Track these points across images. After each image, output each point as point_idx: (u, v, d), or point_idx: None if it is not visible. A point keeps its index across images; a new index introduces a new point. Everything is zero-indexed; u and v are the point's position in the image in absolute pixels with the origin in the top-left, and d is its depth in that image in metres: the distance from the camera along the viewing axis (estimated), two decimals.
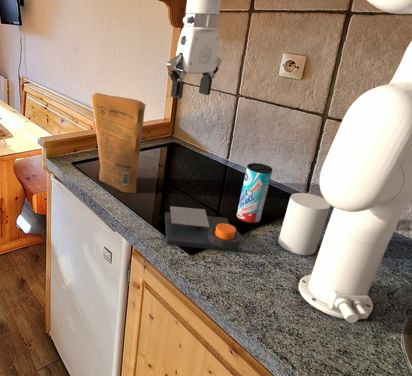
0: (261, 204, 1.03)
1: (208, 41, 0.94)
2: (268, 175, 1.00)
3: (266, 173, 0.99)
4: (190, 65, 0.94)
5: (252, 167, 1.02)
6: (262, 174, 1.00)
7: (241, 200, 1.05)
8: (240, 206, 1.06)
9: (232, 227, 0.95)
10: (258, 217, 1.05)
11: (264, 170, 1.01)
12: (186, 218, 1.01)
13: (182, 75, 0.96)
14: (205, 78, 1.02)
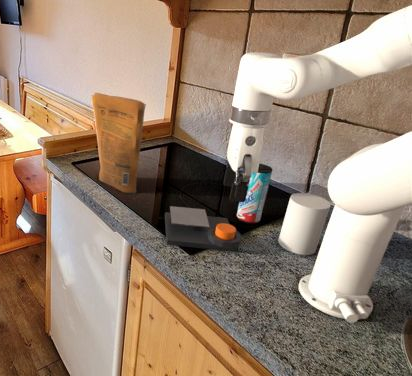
0: (261, 204, 1.03)
1: None
2: (268, 175, 1.00)
3: (266, 173, 0.99)
4: (258, 165, 0.83)
5: None
6: (262, 174, 1.00)
7: None
8: (240, 206, 1.06)
9: (232, 227, 0.95)
10: (258, 217, 1.05)
11: (264, 170, 1.01)
12: (186, 218, 1.01)
13: None
14: (232, 170, 0.92)
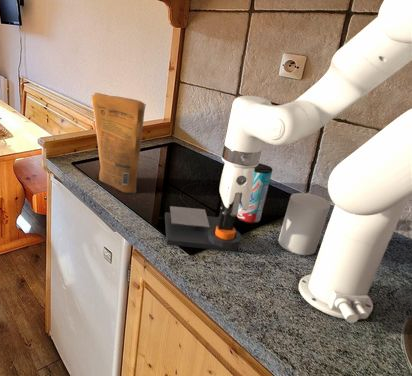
0: (261, 204, 1.03)
1: None
2: (268, 175, 1.00)
3: (266, 173, 0.99)
4: (248, 202, 0.87)
5: None
6: (262, 174, 1.00)
7: None
8: (240, 206, 1.06)
9: None
10: (258, 217, 1.05)
11: (264, 170, 1.01)
12: (186, 218, 1.01)
13: None
14: None
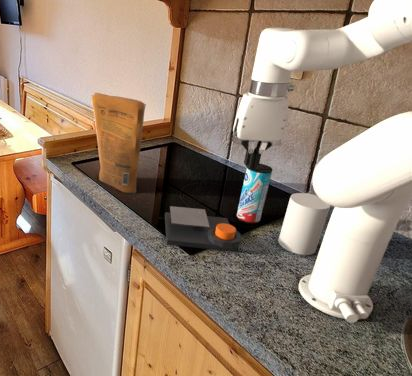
0: (261, 204, 1.03)
1: None
2: (268, 175, 1.00)
3: (266, 173, 0.99)
4: None
5: None
6: (262, 174, 1.00)
7: (241, 200, 1.05)
8: (240, 206, 1.06)
9: (232, 227, 0.95)
10: (258, 217, 1.05)
11: (264, 170, 1.01)
12: (186, 218, 1.01)
13: None
14: None
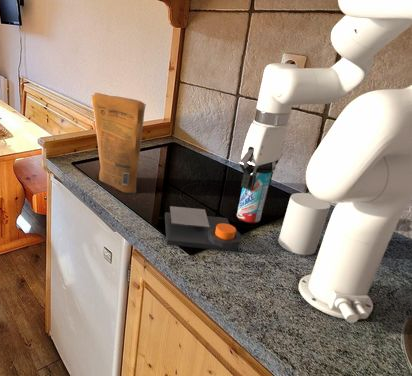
0: (261, 204, 1.03)
1: None
2: (268, 175, 1.00)
3: (266, 173, 0.99)
4: None
5: (252, 167, 1.02)
6: (262, 174, 1.00)
7: (241, 200, 1.05)
8: (240, 206, 1.06)
9: (232, 227, 0.95)
10: (258, 217, 1.05)
11: (264, 170, 1.01)
12: (186, 218, 1.01)
13: None
14: None
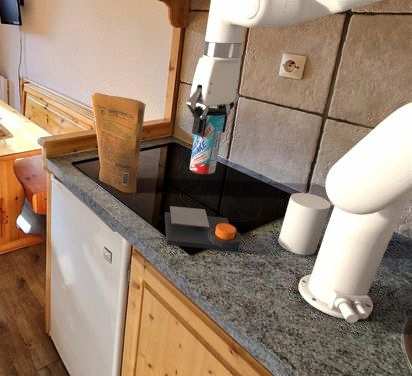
0: (214, 153, 0.93)
1: None
2: (220, 118, 0.89)
3: (217, 116, 0.89)
4: None
5: None
6: (213, 117, 0.89)
7: (193, 149, 0.95)
8: (192, 156, 0.95)
9: (232, 227, 0.95)
10: (212, 168, 0.94)
11: (216, 113, 0.90)
12: (186, 218, 1.01)
13: None
14: None
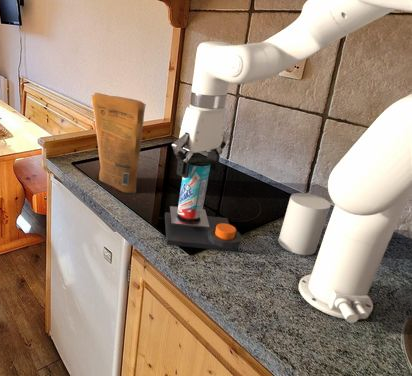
0: (200, 199, 0.97)
1: None
2: (205, 168, 0.94)
3: (203, 166, 0.93)
4: None
5: (190, 160, 0.96)
6: (199, 167, 0.93)
7: (180, 195, 0.99)
8: (180, 202, 1.00)
9: (232, 227, 0.95)
10: (198, 213, 0.99)
11: (202, 163, 0.95)
12: None
13: None
14: None
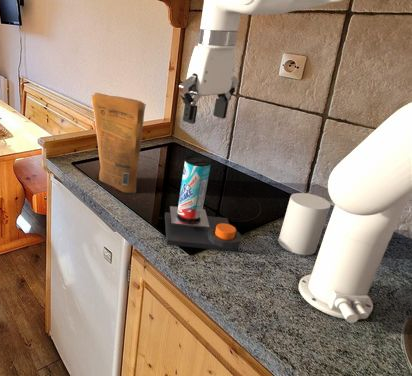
0: (200, 199, 0.97)
1: None
2: (205, 168, 0.94)
3: (203, 166, 0.93)
4: None
5: (190, 160, 0.96)
6: (199, 167, 0.93)
7: (180, 195, 0.99)
8: (180, 202, 1.00)
9: (232, 227, 0.95)
10: (198, 213, 0.99)
11: (202, 163, 0.95)
12: None
13: None
14: None
